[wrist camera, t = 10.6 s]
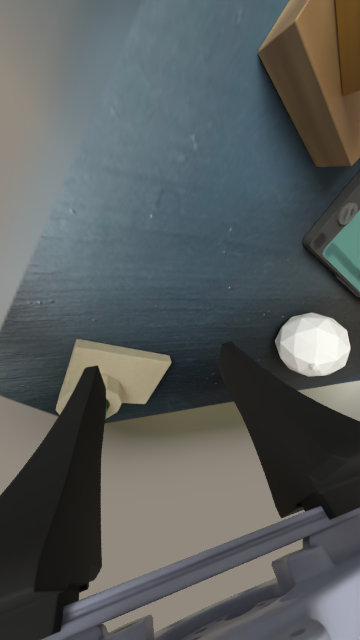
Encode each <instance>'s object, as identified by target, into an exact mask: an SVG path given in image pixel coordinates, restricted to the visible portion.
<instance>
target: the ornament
mask: <svg viewBox="0 0 360 640" xmlns="http://www.w3.org/2000/svg"><path fill="white" fill-rule="evenodd" d="M275 344H276V347H277V349H278V352H279V355H280V358H281V359H282V361H283V362H284V363H285V364H286V366H287V367H288V368H289V369H291V370H293V371H296V372H298V373H301V374H303V375H306V376H324V375H329V374H331V373H333V372H335V371H337V370H339V369H340V368H342V367H344V366H345V364H346V361H347V358H348V355H349V352H350V349H351V348H350V343H349V338H348V333H347V330H346V329H344V328H343V327H342V326H341V325H340V324H338V323H337V322H336V321H335V320H334V319H333V318H330V317H326V316H322V315H319V314H315V313H307V314H302V315H297V316H293V317H291V318H290V319H289V320H288V321H287V322H286V323H285V324H284V325H283V326H282V327H281V329H280V331H279V333H278V335H277V337H276V339H275Z"/></svg>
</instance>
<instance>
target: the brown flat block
mask: <svg viewBox="0 0 360 640" xmlns="http://www.w3.org/2000/svg"><path fill="white" fill-rule="evenodd" d="M258 55H259V56H260V58H261V60H262V62H263V64H264V66H265V68H266V70H267V72H268V74H269V76H270V78H271V80H272V82H273V84H274V86H275V88H276V90H277V92H278V94H279V95H280V97H281V99H282V101H283V103H284V105H285V107H286V109H287V111H288V113H289V115H290V117H291V119H292V121H293V123H294V125H295V127H296V129H297V131H298V133H299V135H300V136H301V138H302V140H303V142H304V144H305V146H306V148H307V150H308V152H309V154H310V156H311V158H312V160H313V162H314V164H315V166H316V167H337V166H352V165H353V164H354V163H355V162H356V161H357V160H358V159H359V158H360V91H357V92H354V93H351V94H348V95H345V96H343V92H342V80H341V67H340V55H339V43H338V30H337V18H336V6H335V0H289V2H288V4H287V5H286V7H285V9H284V10H283V12H282V13H281V15H280V17H279V18H278V20H277V22H276V23H275V25H274V26H273V28H272V30H271V31H270V33H269V34H268V36H267V38H266V39H265V41H264V43H263V44H262V46H261V47H260V49H259V51H258Z"/></svg>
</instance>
